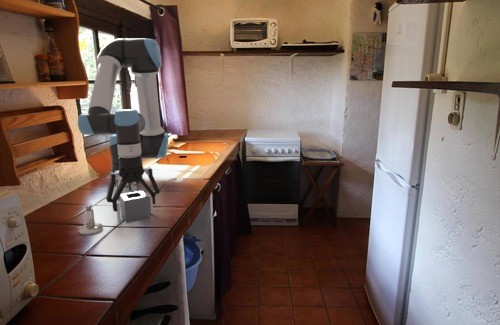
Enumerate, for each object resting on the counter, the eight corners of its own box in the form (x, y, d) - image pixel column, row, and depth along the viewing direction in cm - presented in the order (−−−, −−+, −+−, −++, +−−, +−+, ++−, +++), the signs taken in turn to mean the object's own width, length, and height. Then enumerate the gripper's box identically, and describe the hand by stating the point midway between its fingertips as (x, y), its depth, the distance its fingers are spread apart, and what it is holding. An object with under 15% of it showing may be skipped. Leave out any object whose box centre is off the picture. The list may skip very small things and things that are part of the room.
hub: (78, 228, 111) (74, 204, 109) (101, 224, 115) (98, 200, 113) (80, 237, 106) (77, 211, 103) (104, 231, 109) (101, 207, 107)
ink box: (116, 198, 140) (113, 170, 137) (127, 195, 143) (125, 168, 140) (127, 203, 134) (124, 174, 131) (138, 200, 138) (135, 172, 135)
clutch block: (121, 215, 122) (119, 194, 120) (144, 210, 126) (142, 190, 125) (126, 222, 116) (124, 200, 114) (149, 218, 120) (148, 196, 118)
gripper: (95, 161, 107) (102, 227, 112) (166, 153, 118) (170, 213, 124) (91, 157, 113) (99, 219, 118) (160, 150, 125) (164, 206, 130)
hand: (135, 216), depth 121 cm, fingers open, 10 cm apart
